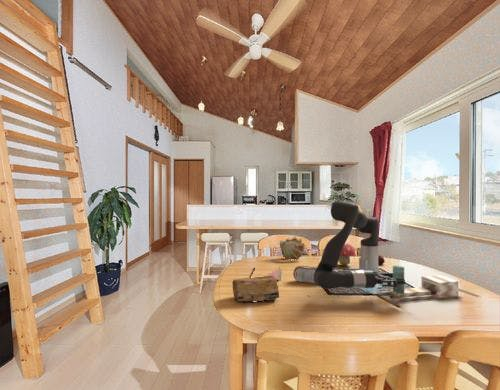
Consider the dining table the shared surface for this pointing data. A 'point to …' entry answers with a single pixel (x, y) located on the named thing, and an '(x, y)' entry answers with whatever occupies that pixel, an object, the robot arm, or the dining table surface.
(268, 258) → the dining table surface
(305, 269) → the tin
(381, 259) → the potato
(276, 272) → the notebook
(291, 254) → the olive rough rounded lump
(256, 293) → the petrified wood
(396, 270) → the block with teal grip
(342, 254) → the decorative mushroom
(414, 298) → the tunnel track
